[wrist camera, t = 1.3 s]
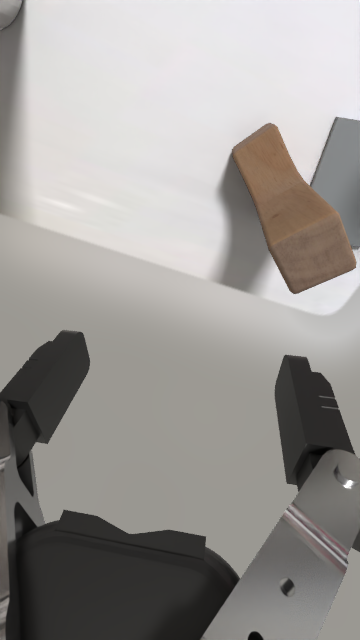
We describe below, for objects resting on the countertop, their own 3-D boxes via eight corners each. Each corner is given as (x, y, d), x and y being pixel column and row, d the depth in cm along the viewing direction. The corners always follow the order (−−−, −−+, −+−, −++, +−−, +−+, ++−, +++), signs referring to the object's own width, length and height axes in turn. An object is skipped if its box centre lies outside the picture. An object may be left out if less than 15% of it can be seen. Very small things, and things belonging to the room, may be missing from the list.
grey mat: (292, 234, 36) (293, 235, 35) (336, 117, 28) (337, 117, 28) (360, 245, 35) (362, 247, 35) (422, 130, 28) (425, 130, 28)
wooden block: (230, 148, 31) (234, 184, 17) (269, 120, 29) (312, 134, 15) (265, 220, 35) (293, 297, 21) (302, 199, 33) (360, 269, 19)
